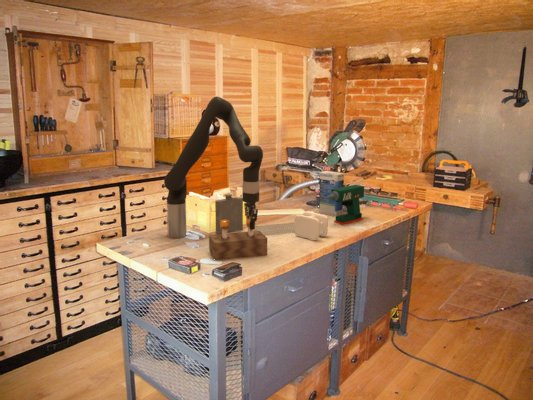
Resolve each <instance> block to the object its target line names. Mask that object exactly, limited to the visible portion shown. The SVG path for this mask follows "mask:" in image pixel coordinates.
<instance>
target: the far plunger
mask: <svg viewBox="0 0 533 400" xmlns="http://www.w3.org/2000/svg"><path fill="white" fill-rule="evenodd" d="M245 218H246V217H245ZM245 220H246V225H245V226H246V227H247V232H248V237H251V236H253V230H251V229H250V218H246V219H245Z"/></svg>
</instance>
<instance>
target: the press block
mask: <svg viewBox="0 0 533 400" xmlns="http://www.w3.org/2000/svg"><path fill="white" fill-rule="evenodd" d="M264 234H265V233H264ZM264 234H262V233H261V232H260V231H259V230H258V231H253V236H251V237H248V231H241V232H240V231H236V232H228V239H222V234H216V233H215V234H208V244H209V247H208V248H209V253H210V255H211V256H212V258H213V260H214V259H215V260H216V261H223V260H233V259H242V258H243V259H244V258H252V257H253V258H254V257H263V256H268V237H267V235H266V234H265V235H266V236H265V235H264ZM215 260H214V261H215Z"/></svg>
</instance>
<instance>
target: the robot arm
mask: <svg viewBox="0 0 533 400" xmlns="http://www.w3.org/2000/svg"><path fill="white" fill-rule="evenodd" d="M215 119H218V120H221V121H222V122H224V123H225V124H226V125H227V127H228V135H229V137H230V139H231V140H232V141H233V144H234V145H235V147H236V150H237V154H238V158H239V160H240V161H242V163H250V165H248V166H246V167H244V168H243V170H242V196H241V197H242V200H243V208H244V216H245V218H250V229H251V230H253V229H255V226H256V222H257V220H258V212H259V211H258V210H259V209H257V205H256V203H258V202H259V201H260V169H261V165H262V163H263V162H262V161H263V158H264V157H263V156H264V152H263V149H262V147H261V146H259V145H251V144H252V143H251V141H252V140H251V138H250V135H249V134H248V133H247V132H246V130H245V129H244V127H243V126H242V124H241V121H240V120H239V118H238V116H237V114H236V111H235V108H234V106H233V105H232V103H231V102H230V101H228V100H226V99H224V98H222V97H221V96H213V98H211V99H210V101H208V104H207V106H206V107H205V109H204V112H203V114H202V116H201V118H200V120H199V122H198V123H197V125H196V127H195V128H194V130H193V132H192V134H191V135H190V136H189V138H188V140H187V141H186V144H184V147H183V149H182V151H181V152H180V154H179V156H178V158H177V160H176V162H175V164H173V166H172V168H171V169H170V170H169V171H168V173H167V174H166V175H165V177H164V179H163V184H164V186H165V188H166V189H167V190H168V194H167V196H166V207H167V208H166V212H167V213H166V215H167V217H166V221H167V222H166V223H167V225H166V226H167V228H166V229H167V236H168V238H169V239H171V238H172V239H181V238H184V237H186V236H187V235H186V233H188V231H187V207H186V206H187V205H186V204H187V203H186V202H187V201H186V199H187V194H188V192H187V189H188V187H187V186H188V185H187V175H188V173H189V171H190V170H191V168H193V167H194V165H196V163H197V162H198V160H199V159H201V157H202V156H203V154H204V152H205V151H206V149H207V147H209V144H210V143H209V142H210V130H211V127H212V124H213V123H214V121H215Z"/></svg>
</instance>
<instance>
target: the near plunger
mask: <svg viewBox="0 0 533 400" xmlns="http://www.w3.org/2000/svg"><path fill="white" fill-rule="evenodd" d="M220 228H222V239H228V233H229V232H228V228H229V220H226V219H224V220H220Z"/></svg>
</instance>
